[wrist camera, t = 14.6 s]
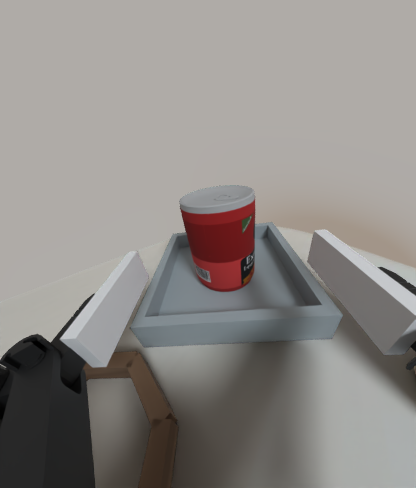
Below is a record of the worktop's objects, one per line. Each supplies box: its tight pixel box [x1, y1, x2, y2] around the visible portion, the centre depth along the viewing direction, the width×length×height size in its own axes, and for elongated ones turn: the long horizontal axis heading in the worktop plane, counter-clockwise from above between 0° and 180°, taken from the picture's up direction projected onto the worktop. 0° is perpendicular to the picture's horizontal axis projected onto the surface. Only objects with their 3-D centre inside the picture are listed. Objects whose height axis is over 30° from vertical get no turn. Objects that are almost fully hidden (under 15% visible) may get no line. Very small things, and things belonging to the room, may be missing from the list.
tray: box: [130, 222, 343, 347], centre depth 22 cm, size 18×18×4 cm
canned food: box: [179, 185, 255, 292], centre depth 20 cm, size 8×8×11 cm
